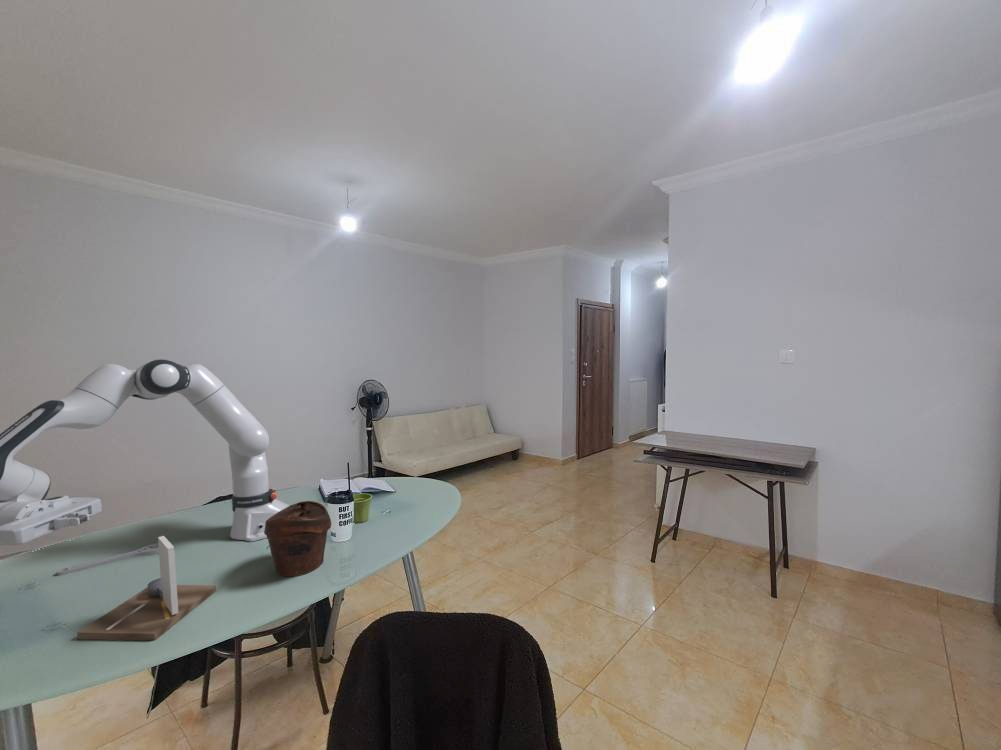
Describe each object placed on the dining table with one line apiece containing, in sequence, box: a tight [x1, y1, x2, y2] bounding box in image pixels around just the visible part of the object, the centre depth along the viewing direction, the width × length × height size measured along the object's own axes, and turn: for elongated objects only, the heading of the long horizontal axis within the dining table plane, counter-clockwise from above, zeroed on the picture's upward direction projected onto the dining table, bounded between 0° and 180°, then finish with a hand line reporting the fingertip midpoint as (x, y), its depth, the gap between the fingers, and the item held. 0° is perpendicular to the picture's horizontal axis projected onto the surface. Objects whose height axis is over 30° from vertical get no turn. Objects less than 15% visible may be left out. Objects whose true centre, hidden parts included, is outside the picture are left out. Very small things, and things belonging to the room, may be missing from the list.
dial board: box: [76, 584, 217, 641], centre depth 109 cm, size 20×18×2 cm
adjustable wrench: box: [56, 542, 159, 577], centre depth 138 cm, size 25×6×2 cm, turn 127°
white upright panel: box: [147, 535, 178, 615], centre depth 111 cm, size 18×5×16 cm, turn 48°
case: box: [264, 500, 332, 577], centre depth 132 cm, size 18×20×18 cm
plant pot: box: [352, 492, 373, 524], centre depth 166 cm, size 9×9×9 cm
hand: (83, 519), depth 107 cm, fingers closed
